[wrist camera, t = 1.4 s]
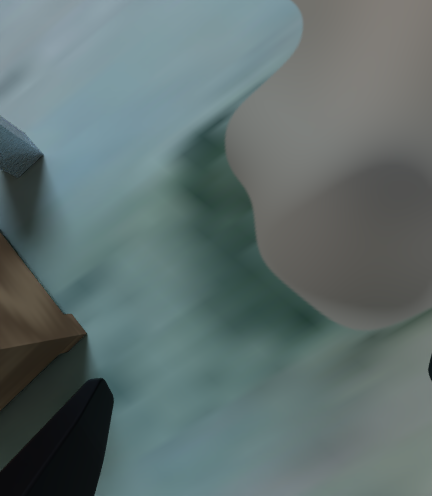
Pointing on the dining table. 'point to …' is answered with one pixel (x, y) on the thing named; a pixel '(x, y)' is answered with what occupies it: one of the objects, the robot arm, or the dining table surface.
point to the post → (16, 149)
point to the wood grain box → (28, 326)
